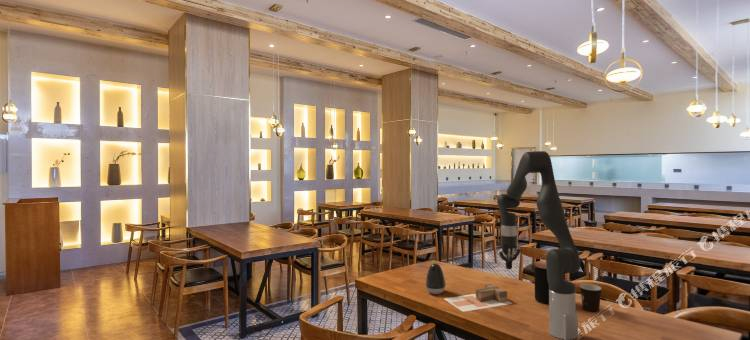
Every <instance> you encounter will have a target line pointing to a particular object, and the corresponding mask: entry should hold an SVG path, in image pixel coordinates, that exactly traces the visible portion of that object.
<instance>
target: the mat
mask: <svg viewBox="0 0 750 340" xmlns="http://www.w3.org/2000/svg"><path fill="white" fill-rule="evenodd" d="M443 300H445V301H446V302H447V303H449V304H450V305H452V306H453V307H455V308H456V309H458V310H460V311H461V312H464V313H465V312H470V311H475V310H482V309H488V308H494V307H500V306H507V305H512V304H514V303H513V302H511V301H509V300H507V302H501V303H500V302H498V301H496V300H491V301H485V302H480V301H478V300H476V293H471V294H465V295H464V294H463V295H458V296H457V295H456V296H451V297H444V298H443Z"/></svg>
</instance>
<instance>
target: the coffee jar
mask: <svg viewBox="0 0 750 340" xmlns="http://www.w3.org/2000/svg"><path fill="white" fill-rule="evenodd" d="M533 270H534V300H535V301H537V302H538V303H540V304H544V305H548V306H549V284H548V280H547V265H546V261H544V260H542V261H541V260H540V261H535V262H534V269H533Z"/></svg>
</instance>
